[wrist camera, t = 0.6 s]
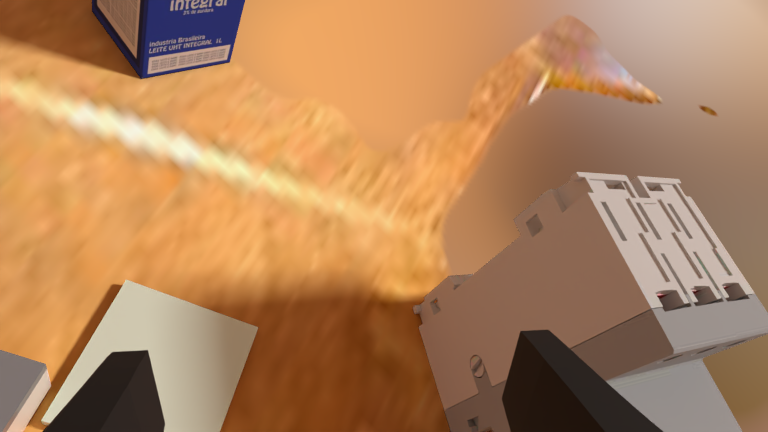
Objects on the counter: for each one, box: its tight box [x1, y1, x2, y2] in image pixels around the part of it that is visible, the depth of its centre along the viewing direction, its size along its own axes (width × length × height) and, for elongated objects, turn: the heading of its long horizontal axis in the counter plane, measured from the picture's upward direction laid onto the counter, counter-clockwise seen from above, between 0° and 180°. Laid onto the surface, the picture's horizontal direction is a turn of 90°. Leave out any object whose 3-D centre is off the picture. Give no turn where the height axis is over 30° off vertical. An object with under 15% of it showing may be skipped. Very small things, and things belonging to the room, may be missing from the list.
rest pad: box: [41, 280, 259, 432], centre depth 24 cm, size 7×7×1 cm
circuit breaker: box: [413, 172, 768, 432], centre depth 25 cm, size 8×14×15 cm, turn 16°
